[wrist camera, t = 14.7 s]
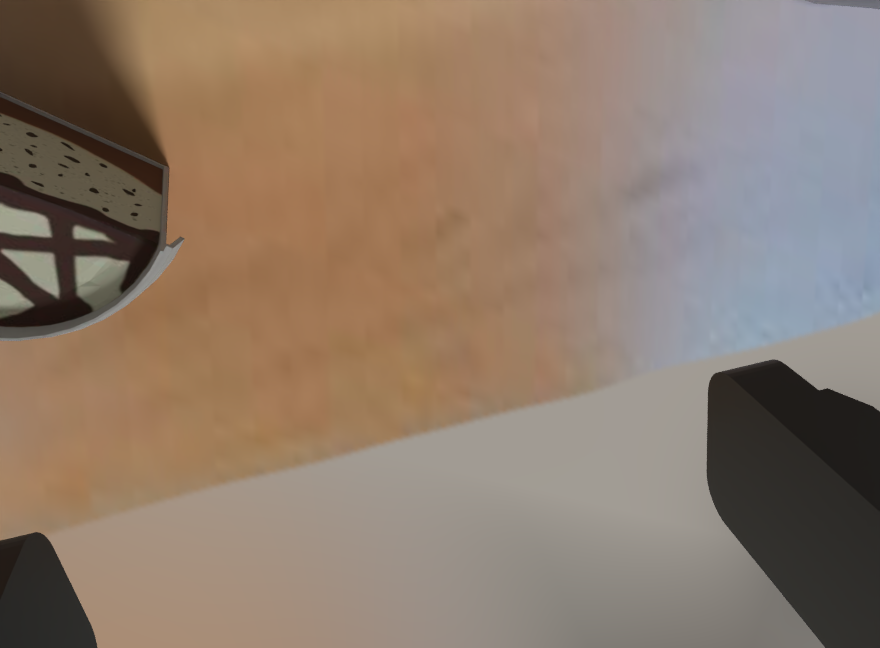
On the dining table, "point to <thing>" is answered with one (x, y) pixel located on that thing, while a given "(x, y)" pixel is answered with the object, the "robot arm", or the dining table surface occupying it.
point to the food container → (73, 224)
